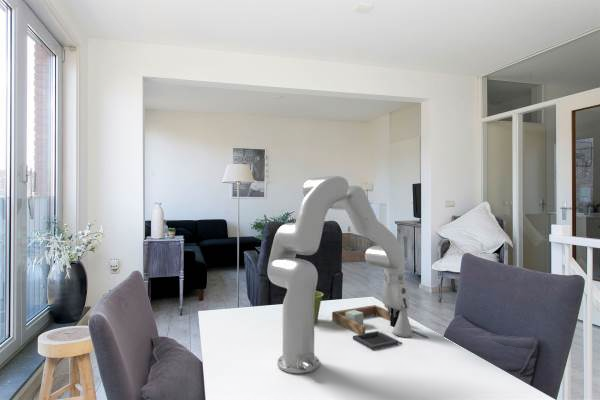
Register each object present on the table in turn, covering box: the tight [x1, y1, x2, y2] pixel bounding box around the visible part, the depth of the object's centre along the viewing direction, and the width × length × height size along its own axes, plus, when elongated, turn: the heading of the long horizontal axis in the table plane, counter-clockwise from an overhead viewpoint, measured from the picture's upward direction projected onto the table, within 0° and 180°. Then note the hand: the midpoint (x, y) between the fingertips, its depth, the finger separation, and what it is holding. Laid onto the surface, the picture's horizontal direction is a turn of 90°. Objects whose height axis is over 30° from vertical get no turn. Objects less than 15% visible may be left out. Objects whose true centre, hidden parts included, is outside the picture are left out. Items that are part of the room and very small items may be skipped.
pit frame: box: [352, 330, 399, 351], centre depth 131 cm, size 11×11×1 cm
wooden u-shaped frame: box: [331, 304, 391, 335], centre depth 150 cm, size 20×22×4 cm
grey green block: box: [345, 310, 364, 326], centre depth 148 cm, size 5×5×5 cm
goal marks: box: [380, 329, 429, 345], centre depth 136 cm, size 11×13×1 cm
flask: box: [391, 306, 414, 338], centre depth 138 cm, size 7×7×10 cm
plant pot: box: [314, 290, 324, 324], centre depth 153 cm, size 12×12×11 cm
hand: (395, 325), depth 142 cm, fingers closed
